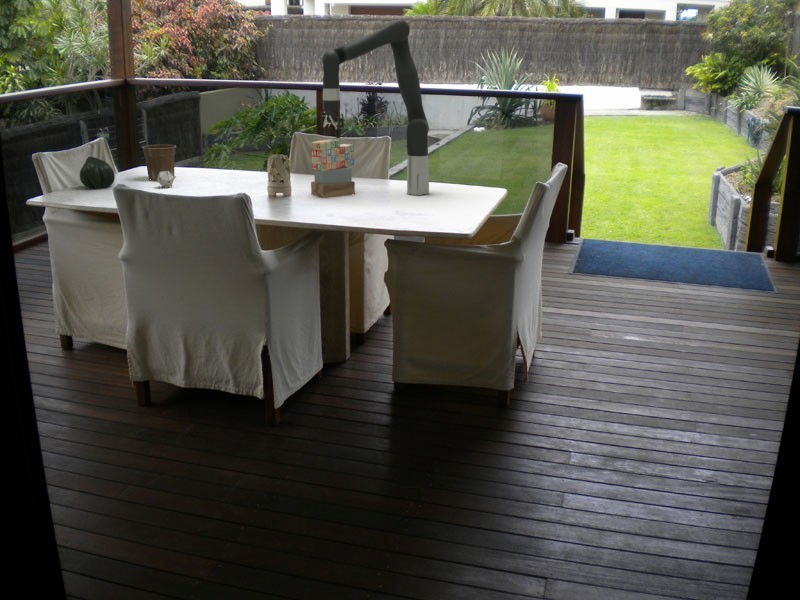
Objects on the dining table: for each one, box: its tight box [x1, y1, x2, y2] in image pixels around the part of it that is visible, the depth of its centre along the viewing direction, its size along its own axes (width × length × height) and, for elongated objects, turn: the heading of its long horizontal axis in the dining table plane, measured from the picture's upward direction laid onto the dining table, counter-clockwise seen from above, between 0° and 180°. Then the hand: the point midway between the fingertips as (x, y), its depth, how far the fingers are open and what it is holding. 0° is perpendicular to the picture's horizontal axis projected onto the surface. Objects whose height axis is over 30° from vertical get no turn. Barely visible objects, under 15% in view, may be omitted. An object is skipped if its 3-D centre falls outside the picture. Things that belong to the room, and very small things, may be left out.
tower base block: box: [310, 180, 356, 199], centre depth 379 cm, size 11×16×6 cm
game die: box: [154, 170, 177, 189], centre depth 394 cm, size 9×8×10 cm
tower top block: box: [313, 166, 353, 184], centre depth 377 cm, size 9×14×6 cm, turn 118°
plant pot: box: [141, 144, 177, 181], centre depth 415 cm, size 16×16×16 cm
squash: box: [79, 156, 116, 190], centre depth 393 cm, size 14×15×15 cm
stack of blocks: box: [310, 138, 355, 171], centre depth 375 cm, size 21×6×12 cm, turn 142°
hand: (332, 137), depth 372 cm, fingers open, 8 cm apart
